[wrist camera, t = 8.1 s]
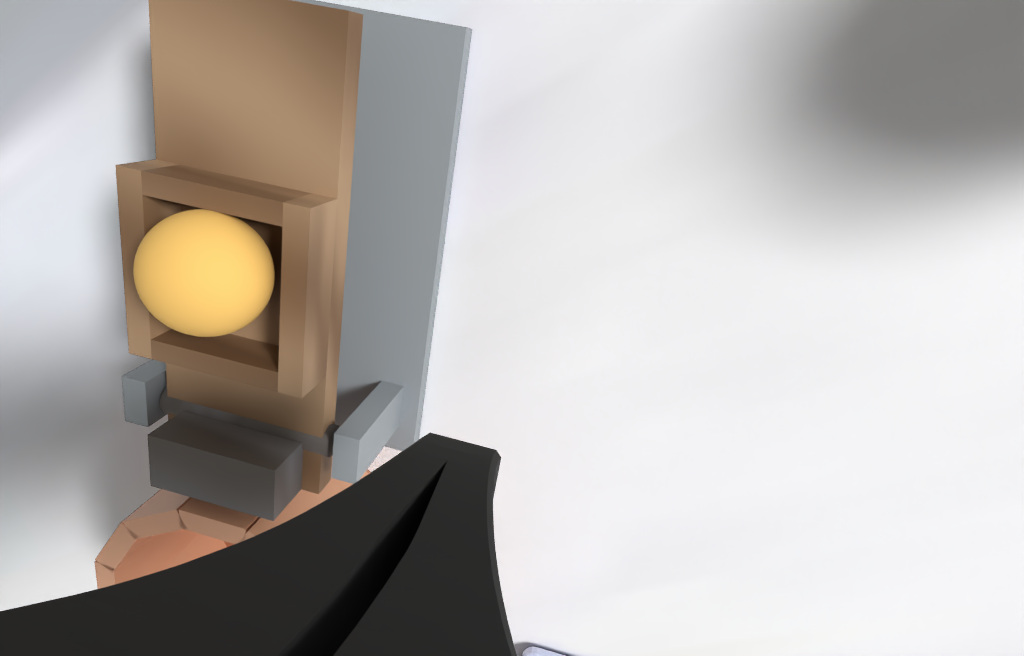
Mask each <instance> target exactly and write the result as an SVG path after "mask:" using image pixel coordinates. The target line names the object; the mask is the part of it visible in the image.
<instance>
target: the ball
mask: <svg viewBox="0 0 1024 656" xmlns="http://www.w3.org/2000/svg"><path fill="white" fill-rule="evenodd" d="M133 275H134V282H135V286H136V289H137V292H138V294H139V297H140V299H141V301H142V302H143V304H144V305H145V307H146V308H147V310H148V311H149V312H150V313H151V314H152V315H153V316H154V317H155V318H156V319H158V320H159V321H160V322H162V323H163V324H165V325H166V326H168V327H170V328H172V329H174V330H176V331H178V332H181V333H184V334H188V335H192V336H198V337H215V336H222V335H226V334H230V333H232V332H235V331H237V330H240V329H242V328H243V327H245V326H247V325H248V324H250V323H251V322H252V321H253V320H255V319H256V318H257V317H258V316H259V315H260V313H261V312H262V311H263V310H264V308H265V307H266V305H267V304H268V302H269V300H270V297H271V294H272V291H273V288H274V282H275V270H274V263H273V259H272V256H271V254H270V251H269V249H268V247H267V245H266V244H265V242H264V240H263V239H262V238H261V237H260V235H259V234H258V233H257V232H256V231H255V230H254V229H253V228H252V227H250V226H249V225H248V224H247V223H245V222H244V221H242V220H240V219H238V218H237V217H235V216H232V215H229V214H224V213H220V212H215V211H211V210H207V209H194V210H188V211H183V212H179V213H176V214H174V215H171V216H169V217H167V218H165V219H164V220H162V221H160V222H159V223H158V224H156V225H155V226H154V227H153V228H152V229H150V231H149V232H148V233H147V234H146V235H145V237H144V238H143V240H142V241H141V243H140V245H139V247H138V249H137V252H136V255H135V259H134V268H133Z"/></svg>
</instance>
